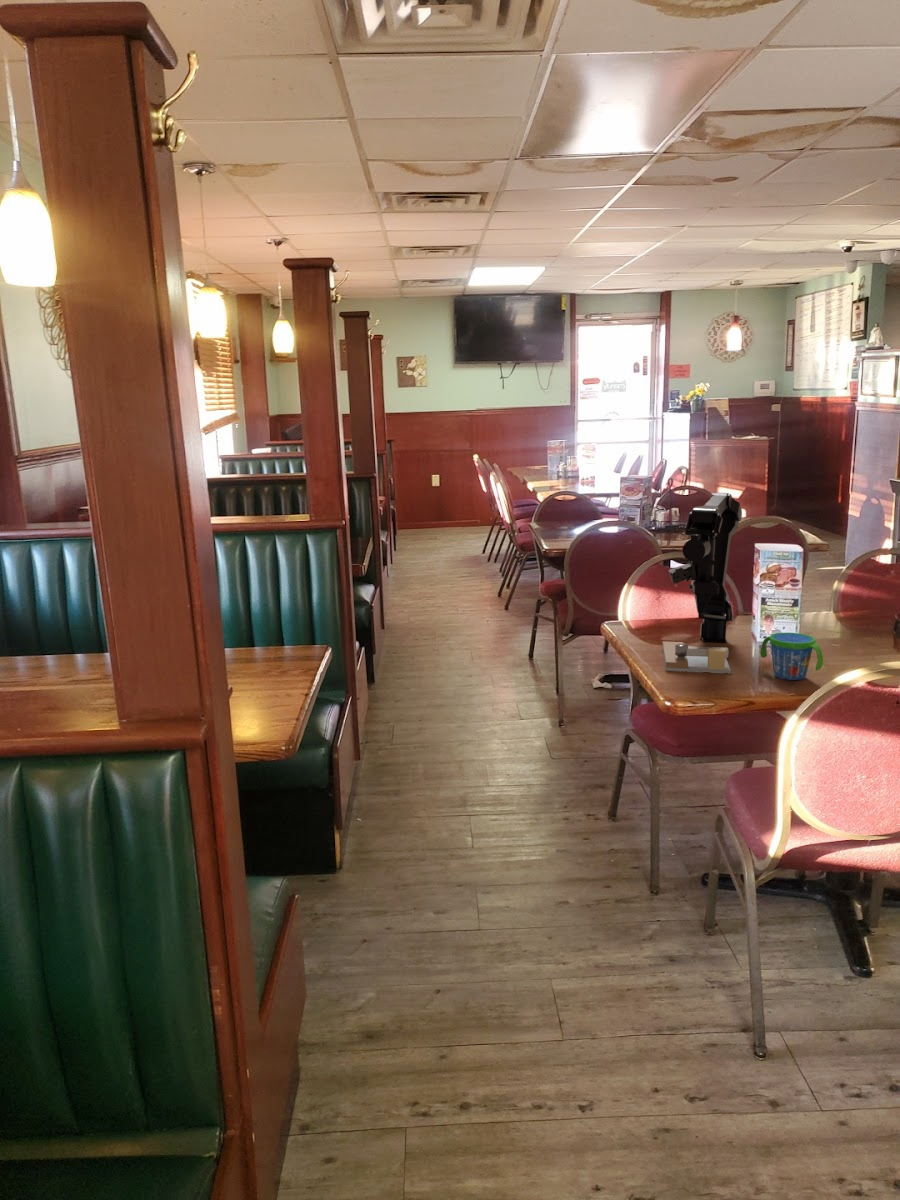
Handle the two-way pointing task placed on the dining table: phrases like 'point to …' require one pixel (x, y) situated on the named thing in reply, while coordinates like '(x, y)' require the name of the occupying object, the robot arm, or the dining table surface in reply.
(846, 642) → the dining table surface
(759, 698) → the dining table surface
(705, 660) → the door board
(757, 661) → the dining table surface
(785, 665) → the snack cup
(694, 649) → the latch bar
